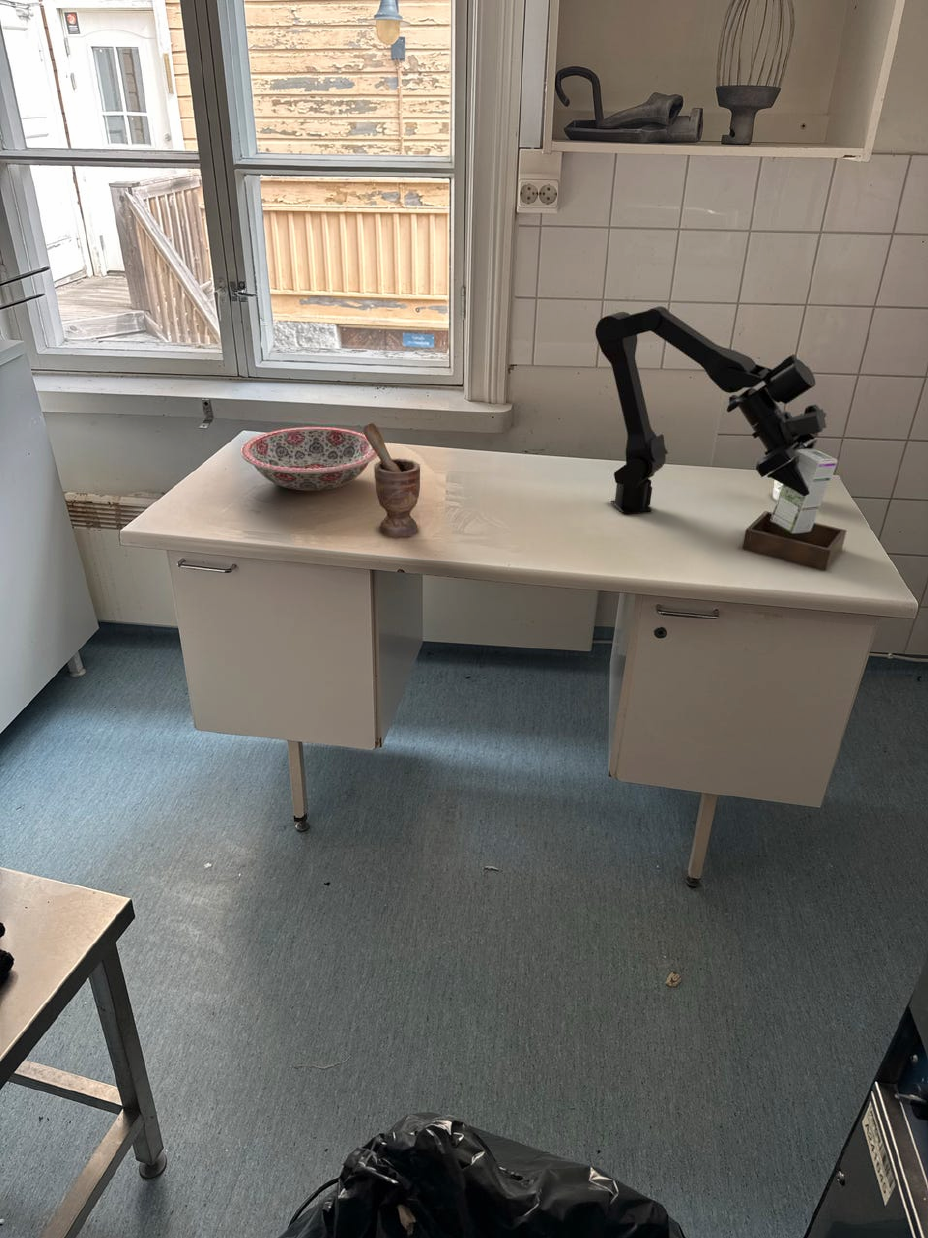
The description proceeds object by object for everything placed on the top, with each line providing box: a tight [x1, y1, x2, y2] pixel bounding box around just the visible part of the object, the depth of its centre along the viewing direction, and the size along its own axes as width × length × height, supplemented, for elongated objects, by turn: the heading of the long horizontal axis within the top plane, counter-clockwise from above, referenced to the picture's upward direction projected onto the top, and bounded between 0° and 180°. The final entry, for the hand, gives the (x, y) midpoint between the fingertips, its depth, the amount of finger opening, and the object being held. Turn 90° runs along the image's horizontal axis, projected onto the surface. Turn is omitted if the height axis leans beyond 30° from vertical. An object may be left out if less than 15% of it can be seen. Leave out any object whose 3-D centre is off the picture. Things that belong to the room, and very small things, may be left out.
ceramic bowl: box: [240, 426, 378, 492], centre depth 193 cm, size 29×29×8 cm
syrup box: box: [770, 448, 839, 533], centre depth 167 cm, size 6×6×14 cm
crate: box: [741, 510, 847, 571], centre depth 171 cm, size 16×12×4 cm
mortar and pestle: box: [362, 422, 421, 537], centre depth 170 cm, size 12×9×20 cm
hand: (813, 488), depth 166 cm, fingers closed on syrup box, 7 cm apart
